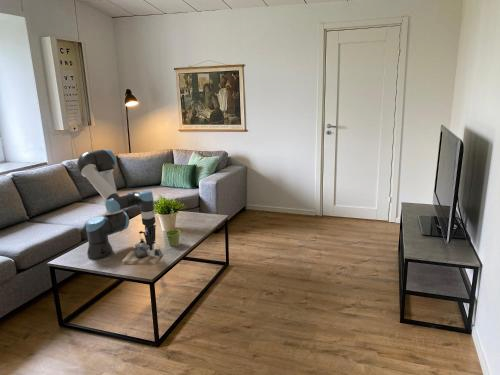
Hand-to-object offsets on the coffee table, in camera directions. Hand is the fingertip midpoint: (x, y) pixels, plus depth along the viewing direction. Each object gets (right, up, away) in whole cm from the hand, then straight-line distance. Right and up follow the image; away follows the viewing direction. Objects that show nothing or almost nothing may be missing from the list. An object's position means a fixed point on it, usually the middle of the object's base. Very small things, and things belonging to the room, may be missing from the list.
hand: (152, 254), depth 226 cm
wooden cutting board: (-7, -3, +5) cm, 10 cm away
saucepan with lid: (-4, -1, +3) cm, 5 cm away
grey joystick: (-11, 0, +20) cm, 23 cm away
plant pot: (+8, +2, +24) cm, 26 cm away
